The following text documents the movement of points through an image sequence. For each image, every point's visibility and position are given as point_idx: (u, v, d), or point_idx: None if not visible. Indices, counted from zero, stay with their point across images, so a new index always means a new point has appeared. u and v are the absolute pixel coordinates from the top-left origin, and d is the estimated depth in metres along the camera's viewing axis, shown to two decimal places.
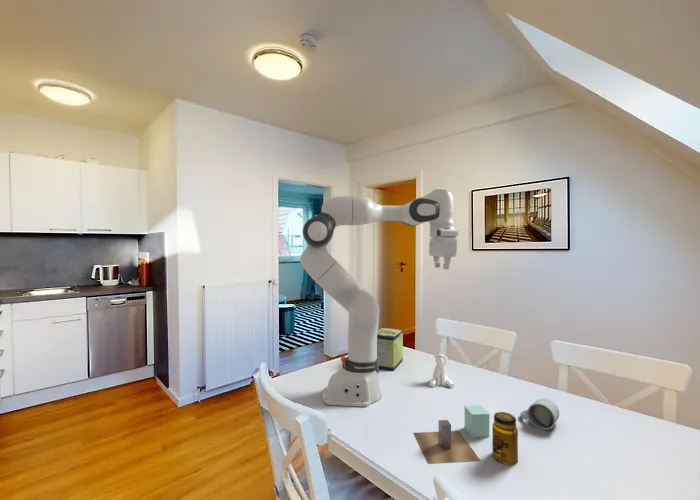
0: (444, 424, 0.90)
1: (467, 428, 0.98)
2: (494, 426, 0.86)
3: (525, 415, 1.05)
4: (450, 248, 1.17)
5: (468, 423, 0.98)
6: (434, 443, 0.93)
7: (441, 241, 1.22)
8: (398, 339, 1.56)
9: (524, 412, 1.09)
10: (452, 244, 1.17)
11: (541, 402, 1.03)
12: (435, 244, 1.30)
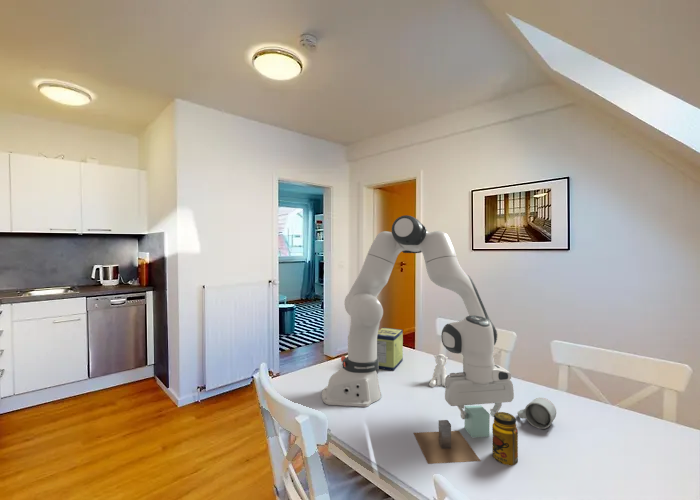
0: (444, 424, 0.90)
1: (467, 428, 0.98)
2: (494, 426, 0.86)
3: (522, 414, 1.06)
4: None
5: (468, 423, 0.98)
6: (434, 443, 0.93)
7: (497, 384, 0.98)
8: (398, 339, 1.56)
9: (521, 411, 1.10)
10: None
11: (538, 401, 1.04)
12: (471, 389, 0.97)
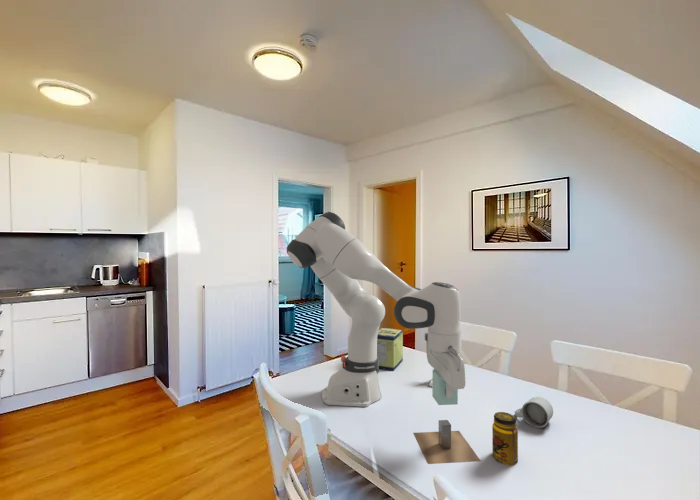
0: (444, 424, 0.90)
1: None
2: (494, 426, 0.86)
3: (519, 413, 1.07)
4: None
5: None
6: (434, 443, 0.93)
7: None
8: (398, 339, 1.56)
9: (519, 410, 1.11)
10: None
11: (535, 400, 1.04)
12: None
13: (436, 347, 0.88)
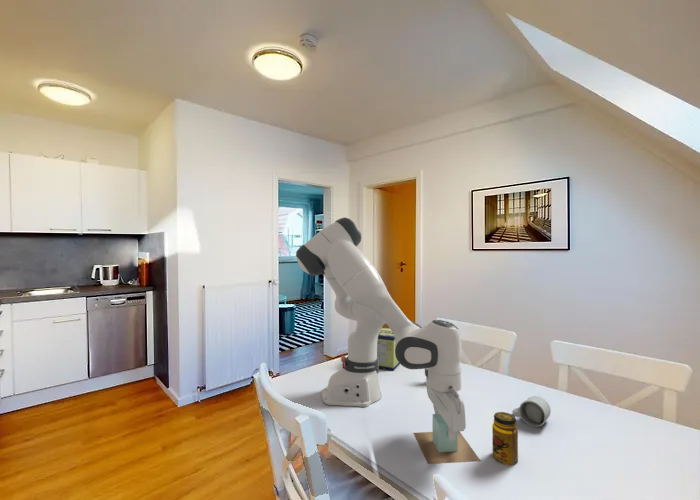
0: None
1: (447, 444, 0.89)
2: (494, 426, 0.86)
3: (517, 412, 1.07)
4: None
5: None
6: None
7: None
8: None
9: (516, 409, 1.11)
10: None
11: (532, 399, 1.05)
12: None
13: (436, 387, 0.88)
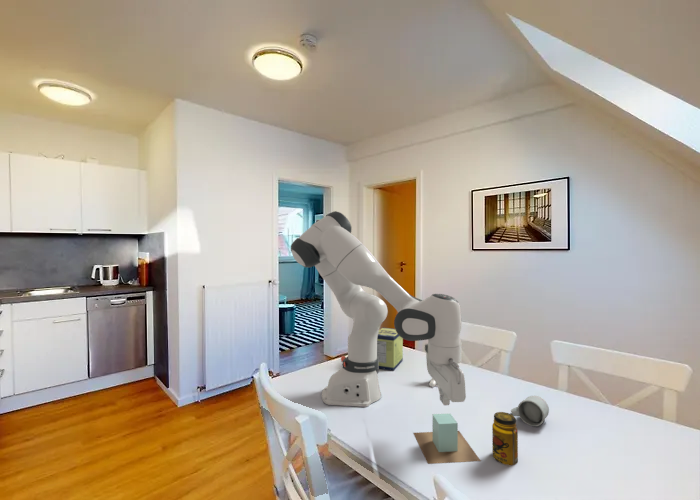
0: None
1: (447, 444, 0.89)
2: (494, 426, 0.86)
3: (516, 411, 1.08)
4: None
5: (448, 437, 0.89)
6: None
7: None
8: (398, 339, 1.56)
9: (515, 409, 1.11)
10: None
11: (531, 399, 1.05)
12: None
13: (436, 359, 0.88)
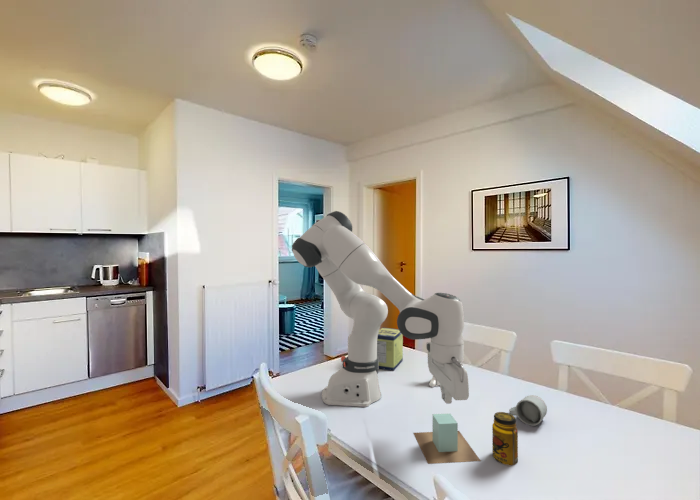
0: None
1: (447, 444, 0.89)
2: (494, 426, 0.86)
3: (514, 411, 1.08)
4: None
5: (448, 437, 0.89)
6: None
7: None
8: (398, 339, 1.56)
9: (513, 408, 1.12)
10: None
11: (529, 398, 1.06)
12: None
13: (439, 358, 0.89)
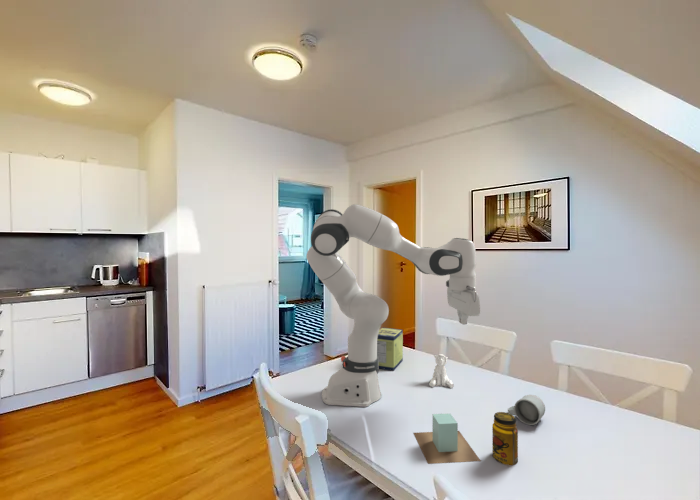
0: None
1: (447, 444, 0.89)
2: (494, 426, 0.86)
3: (512, 410, 1.08)
4: None
5: (448, 437, 0.89)
6: None
7: None
8: (398, 339, 1.56)
9: (511, 408, 1.12)
10: None
11: (527, 398, 1.06)
12: None
13: (456, 287, 1.13)
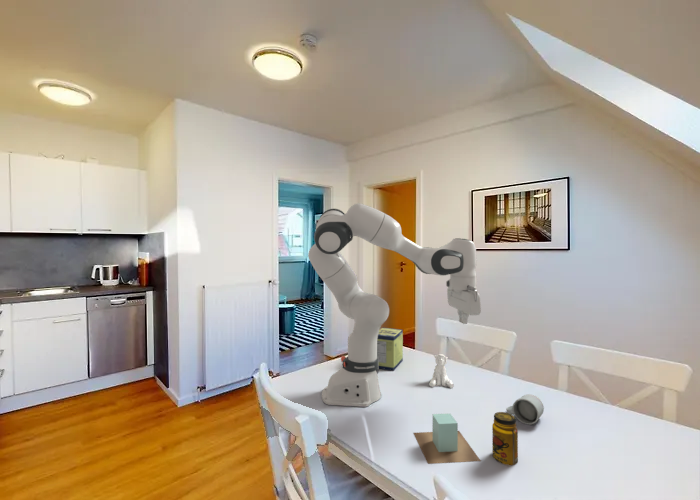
0: None
1: (447, 444, 0.89)
2: (494, 426, 0.86)
3: (511, 410, 1.09)
4: None
5: (448, 437, 0.89)
6: None
7: None
8: (398, 339, 1.56)
9: (510, 408, 1.12)
10: None
11: (526, 398, 1.06)
12: None
13: (457, 287, 1.14)
